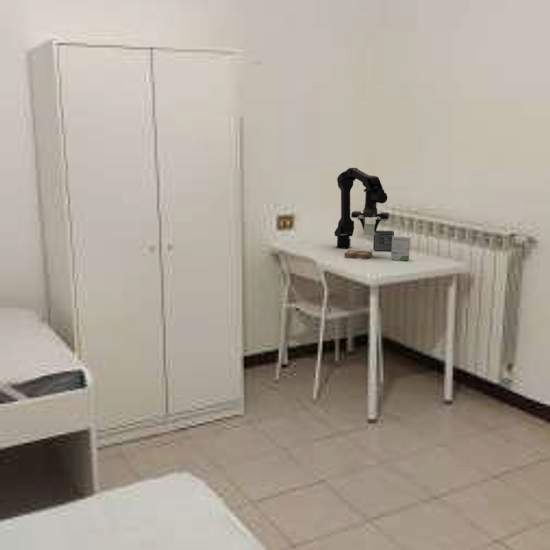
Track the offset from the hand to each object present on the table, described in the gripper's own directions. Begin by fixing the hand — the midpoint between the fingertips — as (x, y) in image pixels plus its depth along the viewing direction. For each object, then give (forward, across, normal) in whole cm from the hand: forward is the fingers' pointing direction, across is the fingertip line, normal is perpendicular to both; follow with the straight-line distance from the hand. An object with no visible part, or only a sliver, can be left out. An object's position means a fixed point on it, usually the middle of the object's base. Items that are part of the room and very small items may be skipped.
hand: (369, 232), depth 361 cm
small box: (+12, +4, +18) cm, 22 cm away
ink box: (+12, +17, -6) cm, 22 cm away
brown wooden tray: (+12, -4, -6) cm, 14 cm away
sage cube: (+1, 0, 0) cm, 1 cm away
